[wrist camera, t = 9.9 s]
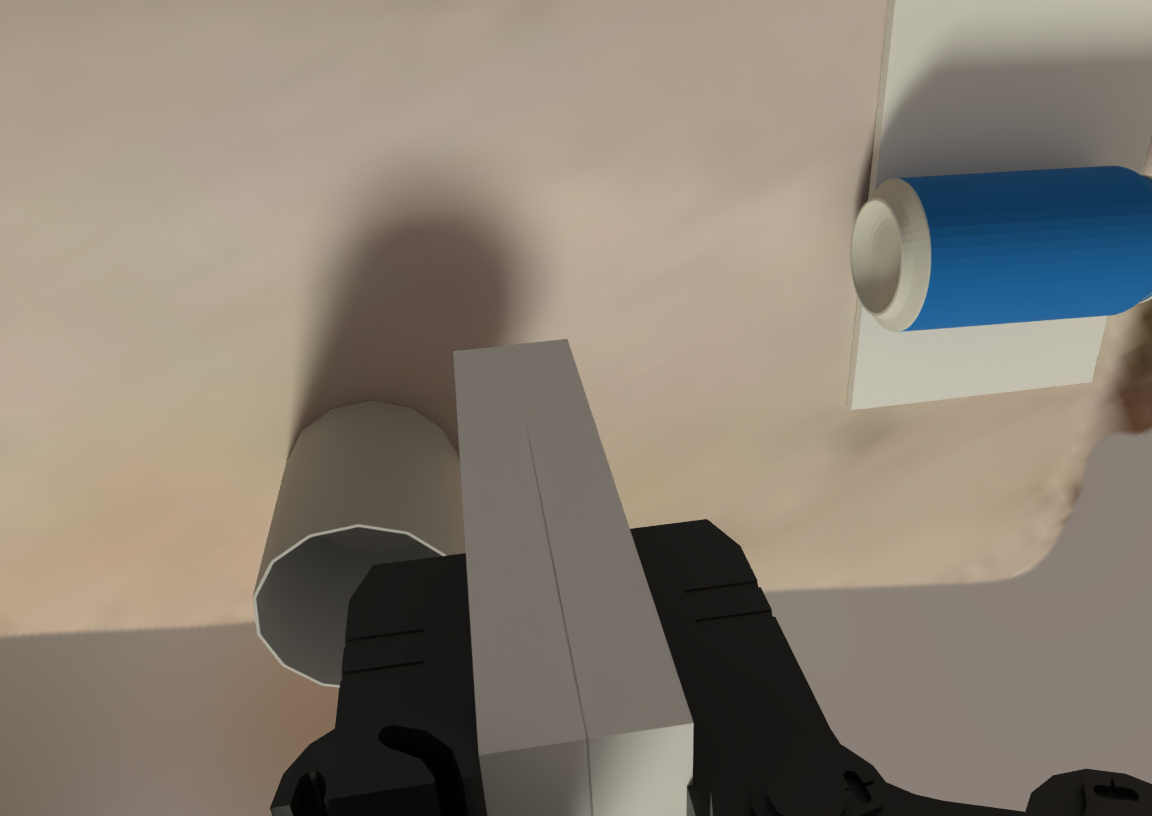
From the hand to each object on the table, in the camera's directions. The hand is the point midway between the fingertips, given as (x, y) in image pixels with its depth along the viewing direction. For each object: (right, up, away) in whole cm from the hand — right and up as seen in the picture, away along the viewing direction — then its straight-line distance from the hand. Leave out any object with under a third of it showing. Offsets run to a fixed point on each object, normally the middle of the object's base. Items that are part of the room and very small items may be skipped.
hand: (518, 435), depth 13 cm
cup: (-9, -3, +33) cm, 34 cm away
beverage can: (+13, +7, +27) cm, 31 cm away
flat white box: (+20, +11, +30) cm, 38 cm away
